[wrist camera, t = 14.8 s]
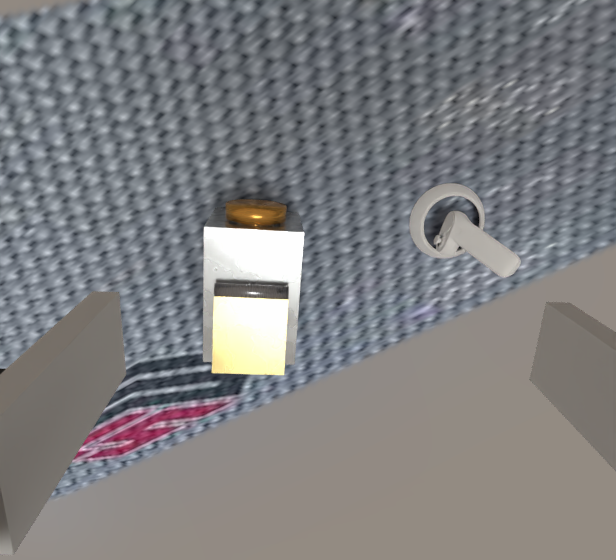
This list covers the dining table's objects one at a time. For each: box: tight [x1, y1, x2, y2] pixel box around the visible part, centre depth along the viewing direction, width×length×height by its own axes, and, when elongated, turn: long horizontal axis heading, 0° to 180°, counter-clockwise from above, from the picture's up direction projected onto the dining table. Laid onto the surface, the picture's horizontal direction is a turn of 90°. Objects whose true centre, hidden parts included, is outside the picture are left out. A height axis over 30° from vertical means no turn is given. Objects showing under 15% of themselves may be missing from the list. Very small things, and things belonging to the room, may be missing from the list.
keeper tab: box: [212, 283, 289, 375], centre depth 40 cm, size 6×8×1 cm
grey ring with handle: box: [409, 183, 521, 277], centre depth 46 cm, size 8×12×7 cm
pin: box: [226, 199, 287, 227], centre depth 43 cm, size 5×12×5 cm, turn 176°
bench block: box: [203, 208, 304, 365], centre depth 44 cm, size 8×12×8 cm, turn 176°
